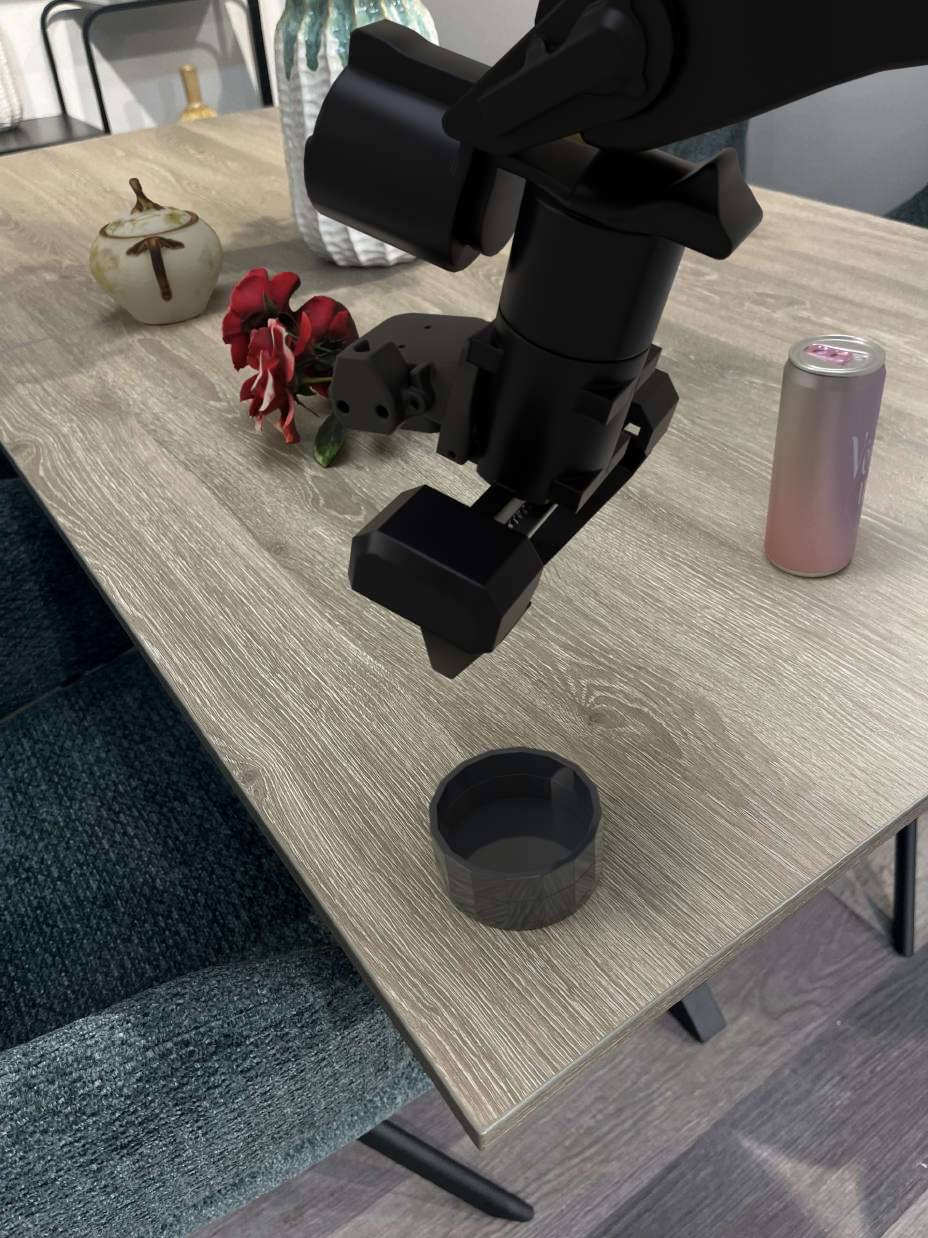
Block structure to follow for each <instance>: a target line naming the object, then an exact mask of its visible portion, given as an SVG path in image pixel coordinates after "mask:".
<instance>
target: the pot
mask: <svg viewBox="0 0 928 1238" xmlns="http://www.w3.org/2000/svg"><path fill="white" fill-rule="evenodd" d="M428 814H429V815H428V816H429V831H430V832H429V833H430V838H431V845H432V850H433V856H434V862H435V868H436V874H437V877H438V878H439V882H440V884H441V885H440V886H441V887H442V889H443V891H444V893H445V895H446V896H447V898H448V899H449V901H450V902H451V903H452V904H453V905H454V906H455V907H456V908H457V909H458V910H459V911H460V912H462V914H464V915H465V916H467V917H469V918H470V919H472V920H474V921H476V922H478V923H480V924H483V925H486V926H489V927H491V928H496V929H501V930H509V931H510V930H511V931H527V930H533V929H539V928H543V927H547V926H550V925H552V924H555V923H557V922H560V921H562V920H564V919H565V918H567V917H569V916H570V915H572V914H573V913H574V912H576V911H577V910H578V909H580V908H581V907H582V906H583V905H584V903H586V901H587V900H588V899H589V898H590V896H591V895H592V894H593V891H594V890H595V888H596V886H597V885H598V881H599V879H600V875H601V870H602V861H603V858H604V847H603V846H604V838H603V837H604V836H603V835H604V833H603V829H604V827H603V824H604V822H603V809H602V804H601V799H600V795H599V790H598V787H597V785H596V784H595V783H594V782H593V780H592V779H591V778H590V777H589V776H588V775H587V773H586V772H585V771H584V770H583V768H581V766H580V765H579V764H577V763H575V762H573V761H571V760H570V759H567V758H565V757H564V756H562V755H561V754H558V753H556V752H555V751H552V750H546V749H541V748H535V747H529V746H522V745H521V746H511V747H503V748H493V749H489V750H486V751H483V752H481V753H479V754H477V755H475V756H472V757H470V758H467V759H465V760H462V761H460V763H459V764H458V765H456V767H454V768H453V769H452V770H451V771H450V772H448V773H447V774H446V775H445V776H444V777H443V778H442V779H440V781H439V783H438V785H437V787H436V790H435V792H434V794H433V796H432V797H431V800H430V802H429V805H428Z"/></svg>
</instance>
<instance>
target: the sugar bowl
mask: <svg viewBox="0 0 928 1238" xmlns="http://www.w3.org/2000/svg"><path fill="white" fill-rule="evenodd" d="M128 185H129V186H130V187H131V189H132V191H133V193H134V195H135V196H136V202H135V205H134V206H133V208H131V210H128V211H126V212H123V213H121V214H120V215H118V216H116V217H115V218H113V220H112V221H110V222H108V223H107V224H105V225H104V226H102V227H101V228H100V229H99V231H98V235H97V236H96V238H95V239H94V241H93V242H92V244H91V246H90V251H89V255H88V262H89V269H90V271H91V274H92V276H93V279H94V280H95V281H96V283H97V284H98V286H99V287H100V288H101V290H103V291H104V292H105V294H107V296H109V297H110V298H111V299H112V300H114V302H115V303H117V304H118V305H119V306H120V307H121V308H122V309H124V310H125V311H126V312H127V313H129V314H130V315H131V316H132V317H133V318H134V319H135V320H136V321H138V322H139V323H143V324H148V325H166V324H172V323H178V322H182V321H186V320H190V319H194V318H195V317H197V316H199V315H201V314H203V312H204V311H205V310H206V308H207V306H208V303H209V301H210V298H211V296H212V294H213V291H214V289H215V287H216V285H217V283H218V281H219V278H220V275H221V271H222V267H223V263H224V250H223V245H222V242H221V239H220V237H219V235H218V234H217V233H216V231H215V229H214V228H213V227H212V226H211V225H210V224H209V223H208V222H207V221H205V220H204V219H202V218H201V217H200V216H199V215H198V214H197V213H196V212H193V211H192V210H186V209H184V210H183V209H180V208H178V207H174V206H168V205H167V206H166V205H161V204H159V203H156V202H154V201H153V200H151V199H150V198H148V197H147V196H146V194H145V193H144V191H143V187H142V184H141V182H140V179H139V178H137V177H131V178H129V180H128Z"/></svg>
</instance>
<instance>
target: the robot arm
mask: <svg viewBox="0 0 928 1238" xmlns="http://www.w3.org/2000/svg"><path fill="white" fill-rule="evenodd" d="M535 12H536V13H535V16H534V23H533V24H534V25H533V26H532V28H530V30H528V32H526V33H525V34H524V35H523V37H521V38H520V39H519V40H518V41H517V42H515V44H514V45H513V46H512V47H511V48H510V49H508V50H507V52H506V53H504V55H502V56H501V58H499V59H498V61H497V62H495V63H494V64H493V65H488V64H486V63H484V62H480V61H478V60H475V59H474V58H471V57H468V56H465V55H463V54H460V53H458V52H456V51H452V50H450V49H447V48H445V47H442V46H440V45H437V44H436V43H433V42H431V41H429V39H427V38H426V37H425V36H422V34H421V33H419V32H418V31H416V30H415V29H412V28H410V27H408V26H406V25H403V24H401V23H399V22H396V21H393V20H390V19H388V18H383V19H380V20H377V21H374V22H371V23H368V24H365V25H362V26H359V27H356V28H354V29H353V30H352V31H351V32H350V33H349V40H348V41H349V43H348V53H347V65H345V67H344V68H343V69H342V70H341V72H340V73H339V74H338V75H337V77H336V78H335V80H334V81H333V82H332V84H331V86H330V87H329V89H328V92H327V94H326V96H325V97H324V99H323V100H322V103H321V106H320V109H319V111H318V114H317V117H316V120H315V123H314V127H313V132H312V134H311V135H309V136H308V137H307V139H306V141H305V144H304V151H303V181H304V185H305V191H306V195H307V197H308V200H309V202H310V204H311V206H312V208H313V209H315V210H316V211H317V212H318V213H319V214H320V215H321V216H324V217H326V218H328V219H330V220H333V221H334V222H337V223H339V224H342V225H343V226H346V227H347V228H350V229H353V230H355V231H357V232H359V233H362V234H364V235H366V236H369V237H371V238H373V239H375V240H377V241H380V242H382V243H383V244H387V245H388V246H390V247H393V248H395V249H397V250H399V251H402V252H404V253H407V254H409V255H411V256H413V257H415V258H417V259H420V260H422V261H424V262H426V263H429V264H431V265H433V266H434V267H437V268H439V269H442V270H444V271H446V272H449V273H453V274H455V273H459V272H462V271H464V270H466V269H467V268H469V266H471V265H472V263H474V262H475V260H476V259H477V258H478V257H480V255H483V256H484V257H488V258H492V257H494V256H496V255H498V254H499V253H500V252H501V251H502V250H503V249H504V248H505V247H506V246H507V244H508V243H509V242H510V241H511V239H512V241H511V246H510V251H509V254H508V259H507V264H506V269H505V272H504V278H503V284H502V286H501V292H500V296H499V301H498V305H497V309H496V315H495V318H493V319H492V320H491V321H487V320H485V319H484V318H481V317H476V316H464V315H451V314H437V313H426V312H425V313H423V312H405V313H400V314H396V315H393V316H390V317H388V318H386V319H385V320H383V321H382V322H380V323H378V324H377V325H376V326H374V327H373V328H371V329H370V330H369V331H367V332H365V334H363V335H361V336H359V339H357V340H356V341H354V342H353V343H352V344H350V345H349V346H347V347H346V348H345V349H344V351H342V352H341V353H340V354H338V355H337V359H336V361H335V362H334V363H332V366H333V371H334V372H333V377H332V381H331V385H330V386H329V387H328V390H327V393H328V397H329V399H328V400H329V401H331V403H332V406H333V410H334V411H335V415H336V418H337V419H338V421H339V422H340V423H341V424H342V425H343V426H344V427H345V428H347V429H349V430H348V431H355V432H362V433H369V434H374V435H382V436H391V435H393V434H394V433H395V432H396V431H397V430H403V431H409V432H415V433H416V432H417V433H423V434H439V435H438V440H437V445H436V450H435V453H436V454H437V455H439V456H441V457H443V458H445V459H447V460H449V461H451V462H453V463H455V464H457V465H459V466H464V465H465V464H466V463H468V462H470V463H472V464H474V465H476V468H475V472H476V474H477V475H478V476H479V477H480V478H481V479H482V480H484V481H485V482H486V484H488V485H490V486H489V487H488V488H487V489H486V490H485V491H484V492H483V493H482V494H481V495H480V496H479V497H477V499H476V500H475V501H474V502H473V503H472V504H471V505H468V504H466V503H464V502H461V501H460V500H458V499H456V498H454V497H452V496H450V495H448V494H446V493H444V492H442V491H440V490H439V489H436V488H435V487H433V486H431V485H428V484H426V483H424V484H422V485H418V486H415V487H413V488H410V489H407V490H404V491H401V492H400V493H399V494H398V495H397V496H395V498H393V500H391V502H390V503H388V504H387V505H386V506H385V507H384V508H383V509H382V510H380V512H378V513H377V514H376V515H375V516H374V517H373V518H372V519H371V520H370V521H369V522H368V523H366V524H365V525H364V526H363V527H362V528H361V529H360V530H359V531H358V532H357V533H356V534H355V535H353V537H352V538H351V545H350V552H349V559H348V560H349V561H348V568H347V577H348V581H349V585H350V589H351V590H352V591H353V592H356V593H357V594H359V595H360V596H363V597H365V598H366V599H368V600H370V601H371V602H374V603H375V604H377V605H379V606H381V607H382V608H384V609H387V610H388V611H390V612H392V613H394V614H396V615H397V616H398V617H401V618H402V619H404V620H406V621H408V622H410V623H412V624H414V625H415V626H417V627H419V628H420V633H421V635H422V638H423V643H424V646H425V649H426V653H427V657H428V660H429V663H430V667H431V669H432V670H433V671H434V672H436V673H437V674H440V675H441V676H443V677H445V678H446V679H449V680H454V679H456V678H457V677H458V676H459V675H460V674H462V673H463V672H464V671H465V670H466V669H467V668H468V667H469V666H471V665H472V664H473V663H474V662H475V661H477V660H478V659H479V658H481V657H482V656H483V655H486V654H493V652H494V651H495V649H496V648H497V647H499V645H501V644H502V643H503V641H504V640H505V639H507V637H508V636H509V634H510V633H511V632H512V630H513V629H514V628H515V627H516V625H517V624H518V623H519V622H520V620H521V619H522V618H523V616H524V615H525V614H526V612H527V611H528V610H529V609H530V608H531V606H532V603H533V602H532V601H531V599H533V596H534V594H535V592H536V590H537V588H538V587H539V584H540V580H541V577H542V575H543V571H544V568H545V566H547V564H549V563H550V561H552V560H553V558H555V556H557V554H558V553H559V552H560V551H561V550H562V549H563V548H564V547H565V546H566V545H567V544H568V543H569V542H570V541H571V540H572V539H573V538H574V537H575V536H576V535H577V534H579V531H581V530H582V529H583V528H584V527H585V526H586V525H587V524H588V523H589V522H590V520H592V518H594V516H596V514H597V513H598V512H599V511H601V510H602V508H603V507H605V505H606V504H607V503H608V502H609V501H610V500H611V499H612V498H613V497H614V496H615V495H616V494H617V493H618V492H619V491H620V490H621V489H623V487H624V486H625V485H626V484H627V483H628V482H629V481H630V480H631V479H632V478H633V476H635V474H636V473H637V472H638V470H639V469H640V468H641V466H643V464H644V462H646V460H647V459H648V458H649V456H650V455H651V454H652V452H653V449H654V448H655V446H656V445H657V444H658V443H659V441H660V440H662V438H663V437H664V435H665V434H666V433H667V431H668V429H669V428H670V427H669V426H670V424H671V422H672V420H673V417H674V414H675V411H676V409H677V406H678V403H679V401H680V396H679V394H678V392H677V390H676V387H675V385H674V383H673V382H672V379H671V377H670V375H669V373H668V372H666V371H664V370H661V369H659V368H657V365H658V362H659V360H660V357H661V354H662V351H663V349H664V348H663V347H661V346H658V345H656V344H655V343H653V341H654V338H655V336H656V333H657V330H658V327H659V324H660V321H661V318H662V316H663V313H664V311H665V307H666V304H667V301H668V299H669V295H670V293H671V290H672V287H673V285H674V282H675V278H676V276H677V273H678V270H679V267H680V265H681V262H682V259H683V257H684V253H685V249H686V248H687V249H689V250H691V251H693V252H696V253H698V254H701V255H704V256H706V257H708V258H711V259H713V260H715V261H716V260H717V261H724V260H726V259H728V258H730V256H731V255H732V254H733V253H734V252H735V251H736V250H737V249H738V248H739V247H740V246H741V244H743V243H744V242H745V241H746V239H747V238H748V237H749V236H750V235H751V234H752V233H753V232H754V231H755V230H756V229H757V228H758V226H759V225H761V223H762V221H763V218H764V210H763V208H762V206H761V205H760V203H759V202H758V199H757V198H756V196H755V195H754V193H753V191H752V189H751V187H750V186H749V184H748V182H746V180H745V178H744V176H743V174H742V171H741V168H740V162H739V154H738V153H739V152H737V150H736V149H735V148H734V147H731V146H728V147H725V148H723V149H721V150H720V151H719V152H718V153H717V154H715V155H714V156H711V157H710V158H707V159H706V160H703V161H699V162H691V161H688V160H686V159H683V158H681V157H678V156H677V155H676V156H675V155H673V154H670V153H669V152H665V151H663V150H660V149H658V148H662V147H665V146H668V145H672V144H675V143H678V142H681V141H685V140H687V139H691V138H694V137H697V136H700V135H705V134H706V133H710V132H713V131H716V130H719V129H722V128H726V127H730V126H732V125H735V124H739V123H742V122H745V121H748V120H751V119H753V118H756V117H759V116H761V115H763V114H767V113H770V112H771V111H774V110H776V109H779V108H781V107H785V106H787V105H789V104H792V103H795V102H797V101H800V100H802V99H805V98H807V97H810V96H814V95H816V94H818V93H821V92H823V91H826V90H828V89H831V88H834V87H837V86H841V85H843V84H846V83H849V82H853V81H856V80H859V79H863V78H866V77H868V76H871V75H872V76H873V75H875V74H878V73H882V72H888V71H894V70H903V69H909V68H917V67H925V66H928V0H538V3H537V8H536V11H535ZM578 133H579V134H580V135H581V138H582V140H583V141H584V142H585V143H586V144H587V145H584V144H581V143H577V142H574V141H572V140H569V139H566V138H565V137H568V136H571V135H574V134H578ZM588 145H590V146H588ZM591 146H592V147H591ZM630 424H631V425H633V426H636V427H637V428H639V431H638V432H637V433H634V432H632V431H630V430H628V428H629V426H630Z"/></svg>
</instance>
